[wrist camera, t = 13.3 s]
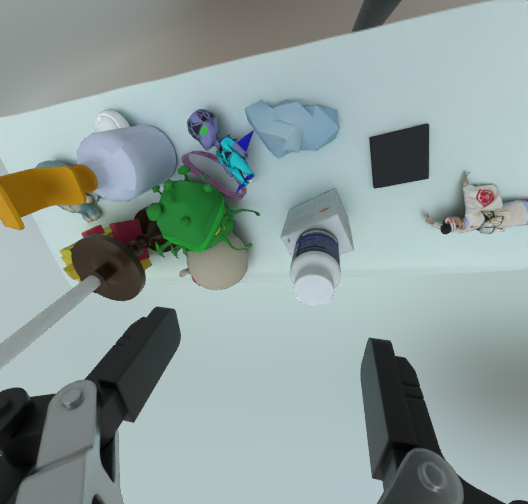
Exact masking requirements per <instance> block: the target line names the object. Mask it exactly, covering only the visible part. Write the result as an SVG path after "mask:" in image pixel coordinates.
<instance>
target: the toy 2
mask: <svg viewBox="0 0 528 504" xmlns="http://www.w3.org/2000/svg"><path fill="white" fill-rule="evenodd" d="M225 237H226V238H227V239H228V240H229V241H230V243H231V245H232V246H233V247H235V248H237V249H243V248H245V246H244V244H243V242H242V241H241V240H240V239H239V237H237V236H236V235H235V234H234V233H232V232H229V235H228V236H225ZM188 257H189V258H188ZM188 257H187V265H188V268H187V269H184V270H182V271H180V273H179V276H180V277H183V276H185V275H187V274H191V275H192V279H193V281H194V282H195V283H196V284H198V285H199V286H202V287H204V288H207V289H211V290H222V289H226V288H229V287H231V286H233V285H235V284H236V283H238V282H239V281H240V280H241V279H242V278H243V276H244V275H245V273H246V271H247V267H248V255H247V251H246V249H244V250H234V249H232V248H231V247H230V246H229V245H228V244H227V243H226V242H225V241H220V242H219V243H218V244H217V245H215V246H214V247H212V248H210V249H207V250H204V251H202V252H201V253H197V252H192V251H188Z"/></svg>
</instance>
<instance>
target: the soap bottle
mask: <svg viewBox="0 0 528 504" xmlns="http://www.w3.org/2000/svg"><path fill="white" fill-rule="evenodd" d="M175 167H176V154H175V151H174V149H173V146H172V144H171V142H170V141H169V140H168V138H167V137H166V136H165V135H164V134H163V133H162V132H160V131H159V130H158V129H156V128H154V127H151V126H148V125H137V126H131V127H125V128H119V129H113V130H107V131H101V132H96V133H92V134H91V135H89V136H88V137H86V138H85V139H84V140H83V141H82V142H81V144H80V146H79V148H78V150H77V165H75V166H72V167H69V166H60V167H42V168H34V169H29V170H24V171H20V172H16V173H12V174H8V175H4V176H1V177H0V219H1V221H2V222H3V224H4V226H6V227H9V228H13V229H17V230H22V229H24V228H25V227H24V224H23V222H22V220H21V217H23V216H26V215H28V214H31V213H33V212H36V211H38V210H40V209H43V208H46V207H49V206H53V205H82V204H84V203H85V202H86V200H87V198H86V195H85V193H90V192H95V193H96V194H98V195H99V196H101V197H102V198H104V199H107V200H110V201H113V202H123V201H130V200H132V199H134V198H136V197H138V196H140V195H141V194H143V193H145V192H147V191H149V190H151V189H152V188H153V186H158V185H160V184H162V183H163V182H165V181H167V180H169V179H170V177H171V176H172V175H173V174H174V171H175Z"/></svg>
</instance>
